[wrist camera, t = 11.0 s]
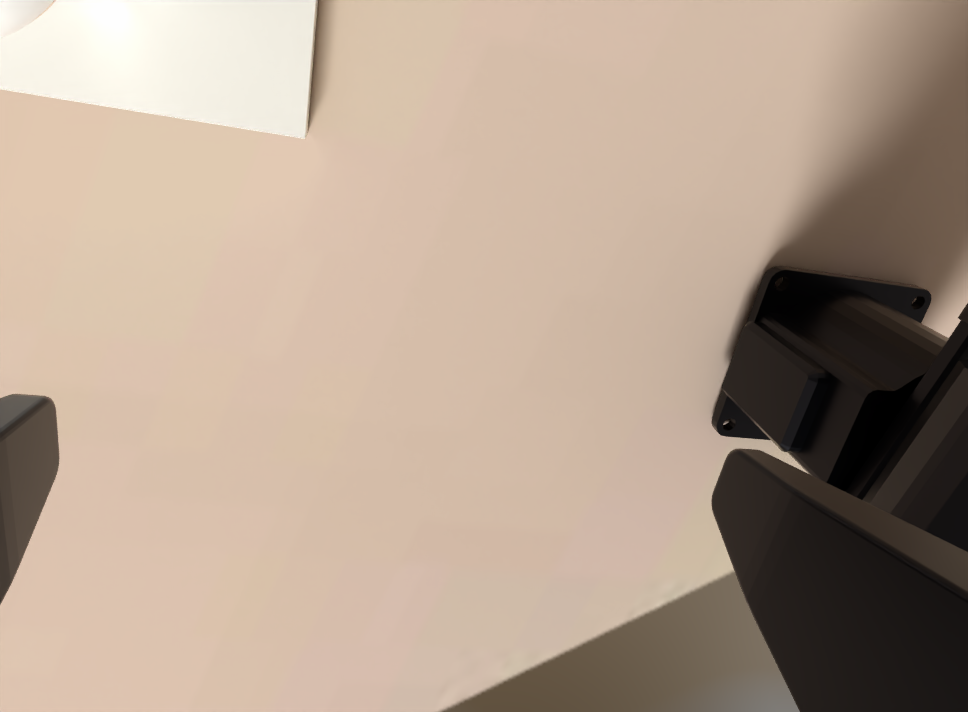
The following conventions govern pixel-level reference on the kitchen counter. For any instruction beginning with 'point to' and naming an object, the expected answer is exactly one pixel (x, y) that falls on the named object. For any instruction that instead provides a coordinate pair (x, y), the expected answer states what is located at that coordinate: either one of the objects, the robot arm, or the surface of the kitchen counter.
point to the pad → (176, 61)
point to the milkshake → (47, 11)
